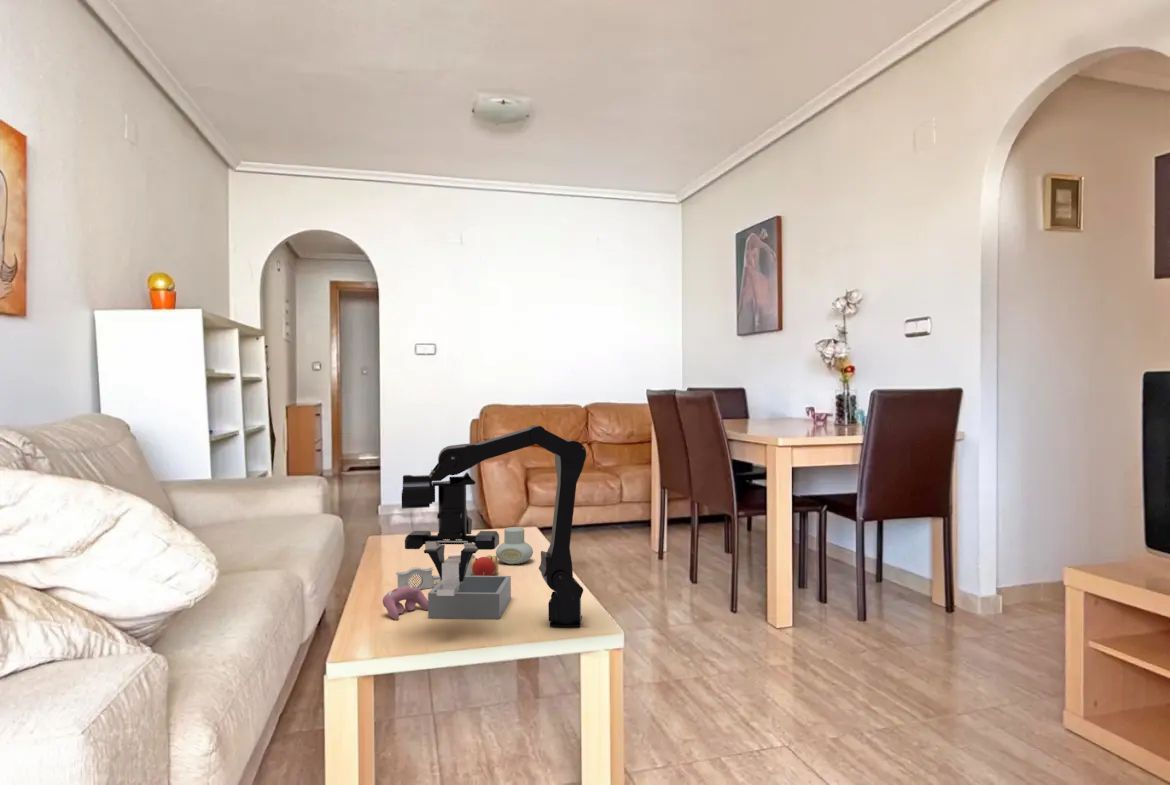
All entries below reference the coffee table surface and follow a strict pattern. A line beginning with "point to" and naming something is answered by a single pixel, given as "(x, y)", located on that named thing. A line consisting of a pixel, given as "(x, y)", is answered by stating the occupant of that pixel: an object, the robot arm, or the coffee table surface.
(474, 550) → the robot arm
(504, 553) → the air freshener
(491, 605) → the open box
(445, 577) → the grey stepped block
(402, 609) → the video game controller
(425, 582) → the garden wall model
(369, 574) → the coffee table surface
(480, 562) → the kendama
